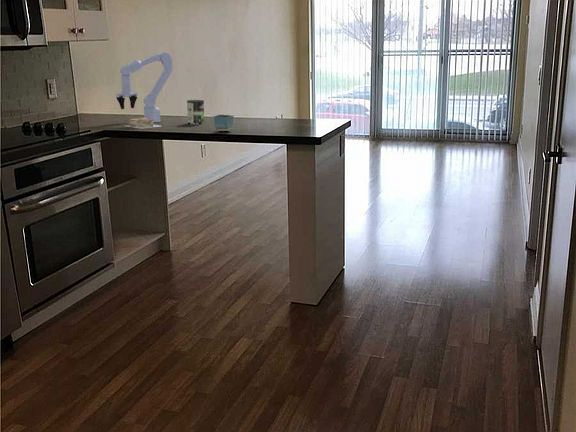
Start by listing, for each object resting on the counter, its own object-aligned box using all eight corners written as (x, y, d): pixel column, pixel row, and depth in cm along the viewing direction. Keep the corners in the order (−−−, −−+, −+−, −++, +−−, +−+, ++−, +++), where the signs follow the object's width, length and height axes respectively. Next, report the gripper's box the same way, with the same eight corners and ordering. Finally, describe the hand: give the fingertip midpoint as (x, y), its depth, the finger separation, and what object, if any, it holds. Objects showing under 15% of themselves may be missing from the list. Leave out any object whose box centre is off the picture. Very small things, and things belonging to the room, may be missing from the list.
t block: (145, 124, 364) (145, 117, 363) (158, 126, 357) (158, 119, 356) (129, 126, 355) (128, 119, 354) (142, 128, 348) (142, 121, 347)
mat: (145, 124, 367) (145, 123, 367) (163, 126, 358) (163, 126, 358) (124, 126, 355) (124, 126, 355) (141, 129, 346) (141, 128, 346)
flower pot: (234, 131, 342) (234, 115, 340) (227, 133, 334) (227, 117, 332) (220, 130, 345) (219, 114, 342) (213, 132, 337) (213, 116, 334)
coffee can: (206, 122, 376) (206, 100, 372) (201, 124, 366) (200, 101, 362) (191, 122, 378) (190, 99, 374) (185, 124, 368) (184, 100, 364)
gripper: (131, 85, 373) (132, 107, 377) (112, 86, 362) (113, 109, 365) (139, 85, 369) (140, 108, 373) (119, 86, 358) (121, 109, 361)
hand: (127, 108), depth 369 cm, fingers open, 7 cm apart
